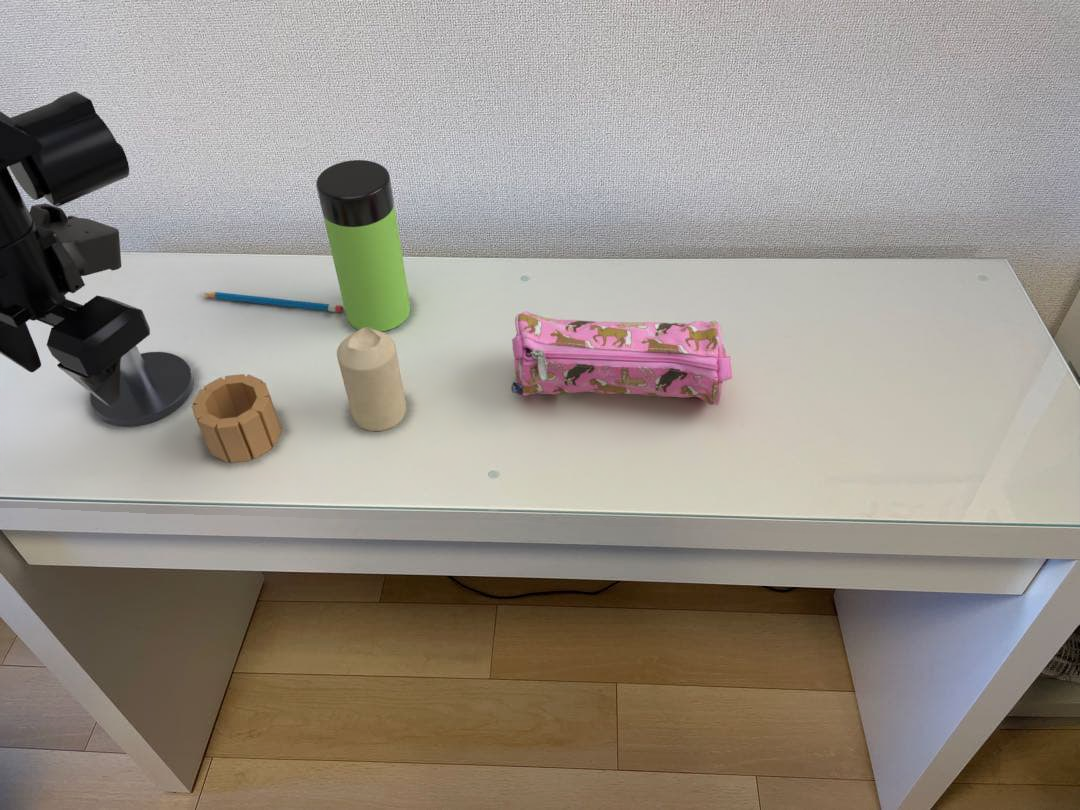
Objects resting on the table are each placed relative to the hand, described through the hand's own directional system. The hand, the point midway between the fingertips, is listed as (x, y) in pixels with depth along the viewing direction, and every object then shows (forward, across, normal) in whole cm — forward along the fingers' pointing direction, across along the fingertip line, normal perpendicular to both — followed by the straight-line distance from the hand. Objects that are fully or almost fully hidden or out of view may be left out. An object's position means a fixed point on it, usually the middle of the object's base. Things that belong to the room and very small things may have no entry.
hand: (74, 385), depth 73 cm
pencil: (+11, +3, -26) cm, 29 cm away
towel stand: (+12, +6, -9) cm, 16 cm away
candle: (+12, -18, -18) cm, 27 cm away
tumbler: (+11, -9, -30) cm, 34 cm away
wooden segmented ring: (+12, -7, -9) cm, 16 cm away
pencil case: (+11, -38, -31) cm, 50 cm away
